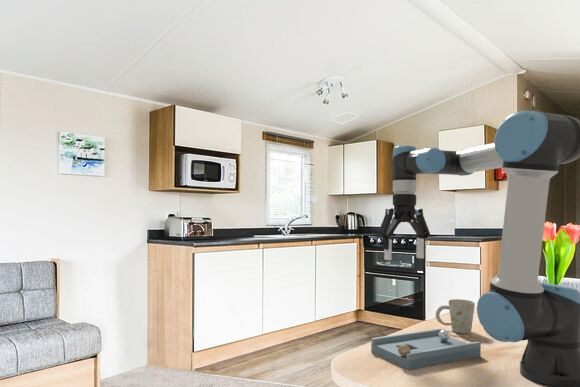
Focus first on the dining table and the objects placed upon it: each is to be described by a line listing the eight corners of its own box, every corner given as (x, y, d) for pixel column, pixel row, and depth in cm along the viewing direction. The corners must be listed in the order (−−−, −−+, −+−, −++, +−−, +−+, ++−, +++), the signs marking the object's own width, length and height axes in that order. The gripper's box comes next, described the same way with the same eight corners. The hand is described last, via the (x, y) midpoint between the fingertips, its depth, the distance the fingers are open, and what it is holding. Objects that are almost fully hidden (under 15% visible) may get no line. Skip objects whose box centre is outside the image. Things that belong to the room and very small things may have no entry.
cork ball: (413, 357, 124) (413, 345, 124) (403, 359, 123) (403, 346, 123) (404, 353, 127) (405, 341, 127) (395, 355, 125) (395, 343, 125)
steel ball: (451, 342, 138) (452, 331, 138) (443, 343, 137) (443, 332, 137) (443, 339, 141) (443, 328, 141) (435, 340, 140) (435, 329, 140)
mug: (476, 335, 155) (476, 305, 155) (436, 333, 157) (437, 302, 157) (472, 329, 163) (472, 300, 163) (434, 326, 165) (434, 298, 166)
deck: (480, 356, 133) (480, 342, 133) (408, 370, 122) (409, 354, 122) (439, 341, 148) (439, 328, 148) (371, 352, 136) (371, 338, 136)
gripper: (424, 194, 163) (424, 256, 162) (366, 193, 151) (366, 259, 151) (441, 194, 156) (441, 258, 156) (381, 192, 145) (381, 261, 144)
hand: (404, 259), depth 153 cm, fingers open, 13 cm apart
